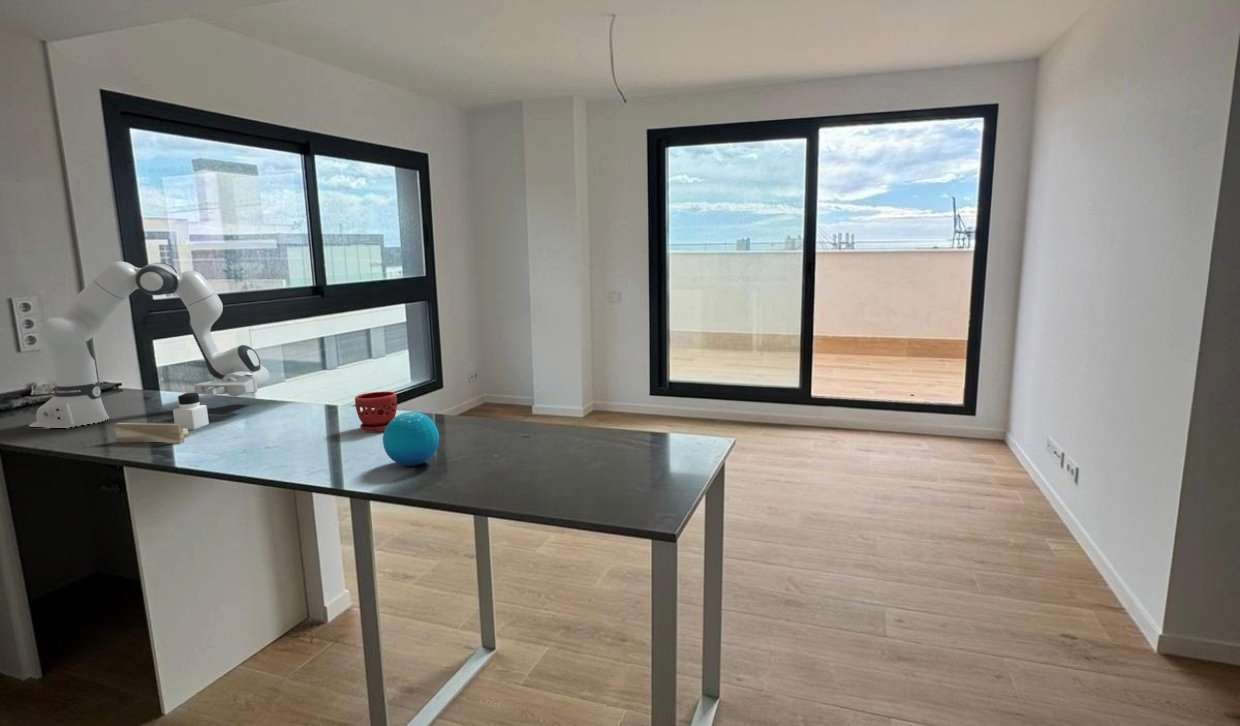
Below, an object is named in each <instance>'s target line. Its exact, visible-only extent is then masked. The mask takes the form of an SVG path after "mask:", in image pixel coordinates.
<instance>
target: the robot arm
mask: <svg viewBox="0 0 1240 726" xmlns="http://www.w3.org/2000/svg"><path fill="white" fill-rule="evenodd" d="M138 289H139V290H140V291H141V292H143V293H145V294H147V295H149V296H163V295H171V294H175V295H176V296H177V297H179V299H180V300H181V301H182V303H183V305H184V306H185V307H186V309H187V311H188V313H189V318H190V320H189V322H188V323H189V324H188V325H189V326H188V327H189V329H190V332H191V333H192V336H193V338H194V340H195V342H196V344H197V346H198V348H199V350H200V352H201V354H202V357H203V359H204V362H205V366H206V369H207V371H208V373H209V374H210V375H211V376H212V377H214V378H216V379H217V380H210V381H209V380H208V381H204V382H200V383H196V384H194V393H198V394H199V395H225V394H226V395H228V396H231V397H238V396H242V395H246V394H248V395H249V394H256V393H258V391H259V389H260V388H261V389H262V387H265V386H266V385H267V384H268V382H269V380H270V377H271V376H270V375H271V374H270V372H269V370H268V368H266V367H265V366H263V365H261V360H260V357H259V354H258V353H257V351H256V350H254V349H253V348H252V347H251V346H248V345H246V344H241V345H238V346H236V347H233V348H231V349H228V350H225V351H223V352H222V351H220V350H219V349H218V347H217V344H216V343H215V339H214V338H213V336H212V333H211V330H212V326H213V325H214V324H215V322H217V320H218V319H219V318H220V317H221V315H222V313H223V309H224V308H223V307H224V306H223V302H222V300H221V298H220V296H219V295H218V294H217V293H216V291H215V289H214V288H213V287H212V285H211V283H209V282H208V281H207V279H206V278H205V277H204V276H203V275H202V274H201V273H200V272H198V271H195V270H186V271H183V272H177V270H176V269H175V268H174V267H173V265H170V264H168V263H165V262H153V263H150V264H147V265H143V266H140V267H137V266H134V265H133V264H131V263H129V262H126V261H121V260H120V261H115V262H113V263H112V264H110V265H109V266H106V268H104V269H103V270H102V271H101V272H100V273H99V274H97V275H96V276H95V277H94V278H93V279H92V280H91V281H90V282H89V283H88V284H87V285H86V286H85V287H84V288H83V289H82V290H81V291H80V292H79V293H78V294H77V295H76V298H75V299H74V301H73V302H72V304H71V306H69V308H68V309H67V310H66V311H65V312H64V313H63V314H60V315H56V316H52V317H50V318H48V319H46V321H44V322H43V323H42V324H41V325H40V327H39V330H38V334H39V338H40V340H41V341H42V342H43V343H44V344H45V346H46V349H47V351H48V354H49V356H50V358H51V360H52V363H53V367H54V374H55V378H56V384H57V385H56V386H55V387H51V388H49V390H50V391H49V392H50V393H52V392H54V393H53V396H52V397H51V398H50V399H48V400H47V401H46V402H45V403H44V404H43V405H41V406H40V407H39V408H38V409H37V411H36V417H35V418H36V421H34V422H32V423H29V425H28V427H29V426H30V427H45V428H44V429H50V428H66V429H70V427H72V428H76V427H75V426H77V427H82V426H81V425H84V426H88V425H87V424H90V425H94V424H93V423H95V424H99V423H102V421H103V422H106V421H108V420H109V419H110V416H109V415H108V413H107V411H106V409H105V405H104V403H103V401H102V397H101V396H102V395H101V394H102V390H101V384H100V381H99V380H98V374H97V369H96V368H97V367H96V361H95V359H94V358H93V356H92V355H91V353H90V351H89V347H88V346H87V342H88V341H90V340H91V339H92V338H93V337H95V335H96V333H97V332H98V331H99V330H100V329H101V327H102V326H103V325H104V323H105V322H106V321H107V319H108V318H109V317H110V316H111V315H112V314H113V312H115V311H116V309H117V308H119V306H121V304H122V303H123V302H124V301H125V300H126V299H127V298H128V297H129V296H130V295H131V294H132V293H133V292H134V291H136V290H138ZM107 419H108V420H107ZM105 420H106V421H105ZM98 422H99V423H98Z"/></svg>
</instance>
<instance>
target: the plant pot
mask: <svg viewBox="0 0 1240 726" xmlns="http://www.w3.org/2000/svg"><path fill="white" fill-rule="evenodd" d="M397 398H398V397H397V393H396V392H395V391H373V392H367V393H362V394H358V395H356V396H354V405H355V410H356V412H357V417H358V419H359V421H360V422H361V424H360V425H359V426H360V429H361V430H362V431H365V432H368V433H369V432H370V433H377V432H384V430H385V428H386V426H387V425H388V423H389V422H390V421H391V420H392V419H393V418H395V417H396V416H397V410H398V407H397V406H398V401H397ZM361 409H362V410H361Z"/></svg>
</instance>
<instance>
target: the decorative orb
mask: <svg viewBox="0 0 1240 726" xmlns="http://www.w3.org/2000/svg"><path fill="white" fill-rule="evenodd" d="M439 441H440V434H439V430H438V428H437V426H436V424H435V422H434V421H433V419H431V418H430V417H429V416H428V415H426V414H423V413H421V412H418V411H417V412H416V411H407V412H402V413H400V414H397V415H395V418H393V419H392V420H391V421H390V422H389V423H388V425H387V426H386V428H385V430H384V431H383V434H382V445H383V448H384V452H385V453H386V455H387V456H388V458H390V459H391V460H392V461H394V462H395V463H396V464H399V465H401V466H406V467H414V466H418V465H421V464H423V463H425V462H427V461H429V460H430V459H431V458H432V457H433V455H434V454H435V452H436V451H437V449H438V446H439Z"/></svg>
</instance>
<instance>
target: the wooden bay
mask: <svg viewBox="0 0 1240 726" xmlns="http://www.w3.org/2000/svg"><path fill="white" fill-rule="evenodd" d="M113 425H114V431H115V436H116V437H115V438H116V443H130V442H166V443H165V444H183V443H185V438H187V437H189V436H190V435H189V430H188V429H184V428H182V424H175V423H155V422H154V423H149V422H147V423H145V422H144V423H143V422H139V423H138V422H117V423H114V424H113Z"/></svg>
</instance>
